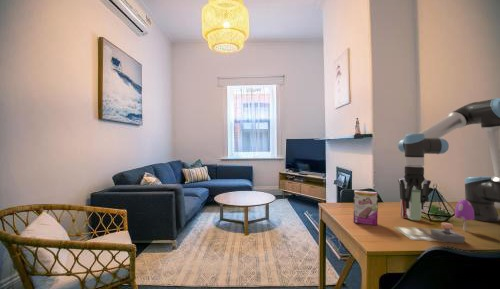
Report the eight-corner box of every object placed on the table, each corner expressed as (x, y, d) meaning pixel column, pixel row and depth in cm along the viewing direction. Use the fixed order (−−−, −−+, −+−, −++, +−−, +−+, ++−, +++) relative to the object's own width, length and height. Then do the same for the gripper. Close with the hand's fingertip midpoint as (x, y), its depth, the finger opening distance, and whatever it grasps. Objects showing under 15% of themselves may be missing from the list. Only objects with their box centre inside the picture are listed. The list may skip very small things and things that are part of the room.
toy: (476, 235, 104) (476, 202, 104) (456, 232, 107) (456, 200, 107) (472, 230, 109) (472, 199, 109) (453, 228, 113) (453, 197, 113)
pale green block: (415, 217, 111) (416, 188, 111) (420, 220, 107) (420, 190, 107) (407, 217, 111) (407, 188, 111) (411, 220, 107) (411, 189, 108)
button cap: (448, 232, 101) (448, 222, 101) (455, 235, 97) (455, 225, 97) (438, 231, 102) (438, 222, 102) (445, 235, 98) (445, 225, 98)
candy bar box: (353, 223, 120) (353, 191, 120) (353, 220, 125) (353, 190, 125) (378, 226, 115) (378, 193, 116) (377, 223, 120) (377, 191, 120)
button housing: (450, 235, 103) (450, 229, 103) (464, 242, 95) (464, 236, 95) (430, 234, 104) (430, 228, 104) (443, 241, 96) (443, 235, 96)
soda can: (418, 220, 125) (417, 198, 125) (404, 219, 127) (404, 197, 127) (411, 216, 132) (411, 195, 132) (398, 215, 133) (398, 194, 133)
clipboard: (437, 229, 111) (437, 228, 111) (463, 243, 95) (463, 242, 95) (392, 227, 114) (392, 226, 114) (410, 240, 98) (410, 239, 98)
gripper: (428, 165, 112) (428, 214, 112) (391, 165, 114) (391, 212, 114) (438, 167, 104) (438, 219, 104) (399, 166, 107) (398, 217, 106)
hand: (413, 215), depth 109 cm, fingers closed on pale green block, 4 cm apart
